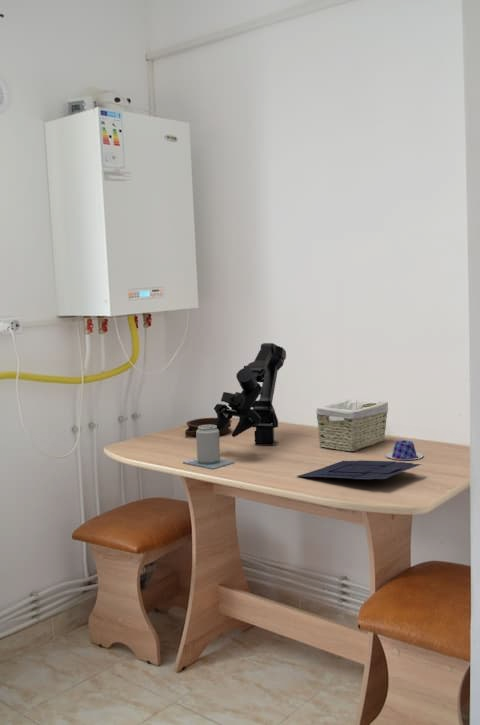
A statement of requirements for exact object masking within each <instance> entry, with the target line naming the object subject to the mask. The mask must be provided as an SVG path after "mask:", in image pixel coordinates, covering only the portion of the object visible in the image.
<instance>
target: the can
mask: <svg viewBox="0 0 480 725" xmlns="http://www.w3.org/2000/svg"><path fill="white" fill-rule="evenodd" d="M195 437H196V458H197V460H198V461H199V462H200V463H202V464H213V463H217V462H218V461H219V460H220V459H221V449H220V448H221V446H220V443H221V442H220V435H219V430H218V429H217V426H216V425H201V426H198V430H197V431H196V436H195Z"/></svg>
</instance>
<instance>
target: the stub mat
mask: <svg viewBox="0 0 480 725" xmlns="http://www.w3.org/2000/svg"><path fill="white" fill-rule="evenodd" d="M235 463H236V462H235V461H232V460H226V459H222V458H220V460H219V461H218V462H217V463H213V464H202V463H200V462H199V461H198V460H197V457H196V458H192V459H190V460H184V461H183V462H182V464H185V465H190V466H194V467H195V466H196V467H199V468H203V469H204V468H205V469H209V470H216V469H219V468H223V467H227V466H229V465H233V464H235Z"/></svg>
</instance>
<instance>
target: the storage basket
mask: <svg viewBox="0 0 480 725" xmlns="http://www.w3.org/2000/svg"><path fill="white" fill-rule="evenodd" d="M388 411H389V403H388V402H387V401H386V400H385V401H384V400H382V401H381V400H372V399H361V398H360V399H359V398H352V399H345V400H339V401H336V402H333V403H332V402H331V403H327V404H323V405H320V406H317V408H316V420H317V428H318V429H317V430H318V440H319V444H318V445H319V446H320V447H321V448H325V449H331V450H337V451H343V452H356V451H358V450H361V449H364V448H366V447H371V446H374V445H376V444H379V443H381V442H384V441H385V438H386V431H387V430H386V429H387V418H388Z"/></svg>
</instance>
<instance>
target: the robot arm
mask: <svg viewBox="0 0 480 725" xmlns="http://www.w3.org/2000/svg"><path fill="white" fill-rule="evenodd" d="M286 358H287V351H286V350H285V348H284V347H281V346H279V345H276V344H275V343H274V342H273V343H271V342H267V343H266V342H265V343H264V342H263V343H261V344H260V349H259V351H258V353H257V355H256V357H255V359H254V360H253V361H251V362H250V363H248V364H247V365H244V366H243V368H241V369H240V370H239V371H238V372H237V373H236V379H237V382H238V383H239V386H240V387H241V389H242V390H241V392H238V391H237V392H235V393H233V392H226V391H223V392H222V396H221V398H220V402H224V403H227V404H223V403H217V404H215V406H214V407H213V410H214V411H215V414H216V416H217V417H216V418H217V423H216V426H217V429H218V430H219V431H220V430H221V429H222V428H223V427H224V426H225V425H227V424H228V423H229V422H230V420H231V419H232V418H233V417H236V418H237V417H238V418H239V420H238V422H237V425H236V426H235V428H234V430H233V432H232V434H231V436H232V437H233V438H236V437H238V436H239V435H240V434H242V433H244V432H245V431H247V430H249V429H251V428H255V430H254V444H255V446H274V444H275V443H276V440H275V428H279V420H278V416H277V414H276V410H275V408H274V406H273V399H274V394H275V388H276V382H277V376H278V372H279V370H280V369H282V367H283V366H284V363H285V360H286ZM261 383H262V385H261ZM258 398H259V399H258ZM227 405H228V406H227ZM230 408H231V409H230Z"/></svg>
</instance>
